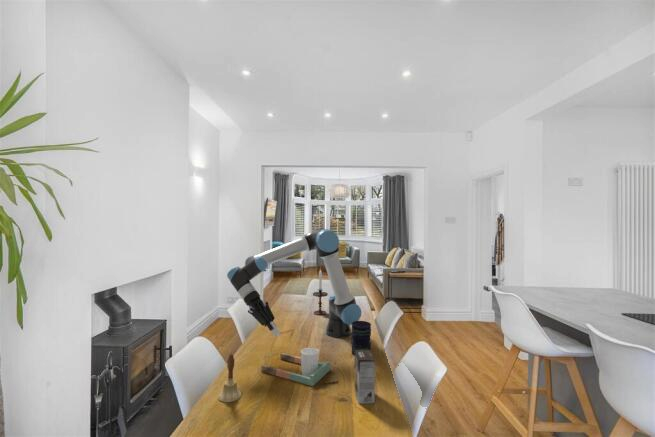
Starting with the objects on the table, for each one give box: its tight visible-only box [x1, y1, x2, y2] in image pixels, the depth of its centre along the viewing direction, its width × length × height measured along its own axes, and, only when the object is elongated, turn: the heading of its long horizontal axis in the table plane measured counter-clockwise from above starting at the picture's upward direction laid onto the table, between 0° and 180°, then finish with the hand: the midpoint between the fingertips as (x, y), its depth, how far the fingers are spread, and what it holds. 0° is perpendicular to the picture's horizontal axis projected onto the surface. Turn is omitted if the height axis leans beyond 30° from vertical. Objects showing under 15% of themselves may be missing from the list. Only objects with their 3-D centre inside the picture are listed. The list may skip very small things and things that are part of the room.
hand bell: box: [218, 353, 242, 403], centre depth 118 cm, size 8×8×16 cm
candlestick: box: [312, 264, 329, 316], centre depth 226 cm, size 11×11×35 cm
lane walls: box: [261, 352, 296, 376], centre depth 143 cm, size 8×15×2 cm, turn 153°
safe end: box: [289, 360, 331, 387], centre depth 135 cm, size 11×15×4 cm
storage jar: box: [351, 320, 372, 357], centre depth 158 cm, size 10×10×15 cm
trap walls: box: [275, 355, 301, 380], centre depth 139 cm, size 7×15×2 cm, turn 153°
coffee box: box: [354, 350, 376, 405], centre depth 119 cm, size 9×6×16 cm
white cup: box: [300, 347, 320, 377], centre depth 136 cm, size 8×8×10 cm
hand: (277, 334), depth 143 cm, fingers closed
